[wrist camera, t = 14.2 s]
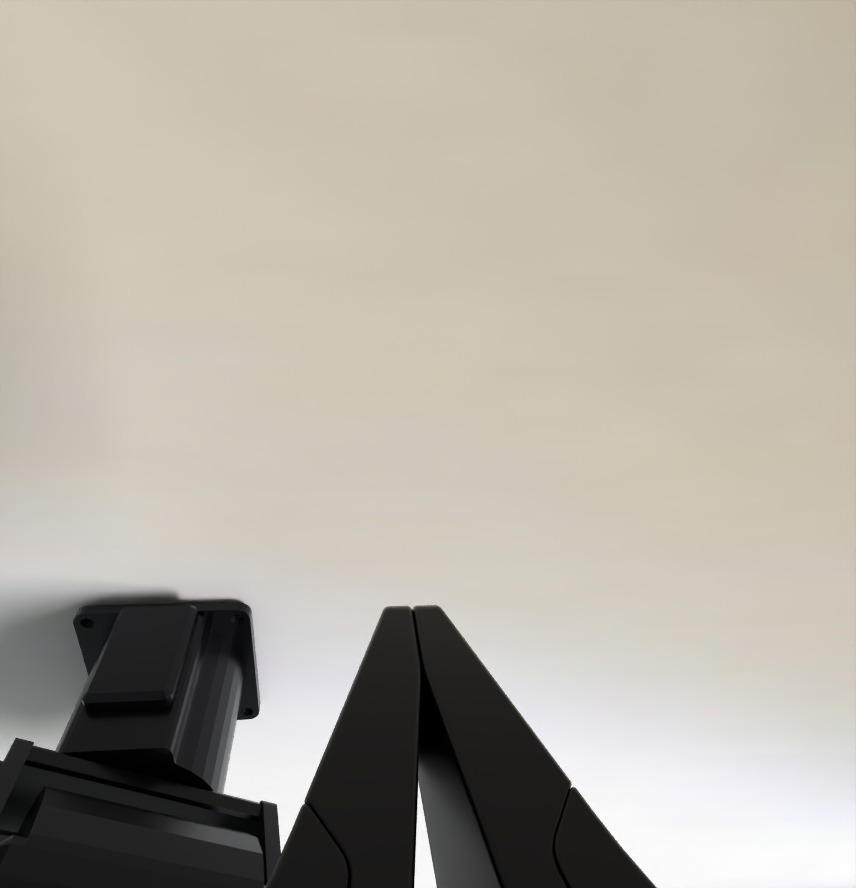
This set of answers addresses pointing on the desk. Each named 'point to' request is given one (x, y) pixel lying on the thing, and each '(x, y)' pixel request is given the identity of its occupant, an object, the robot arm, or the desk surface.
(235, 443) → the desk surface
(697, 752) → the desk surface
